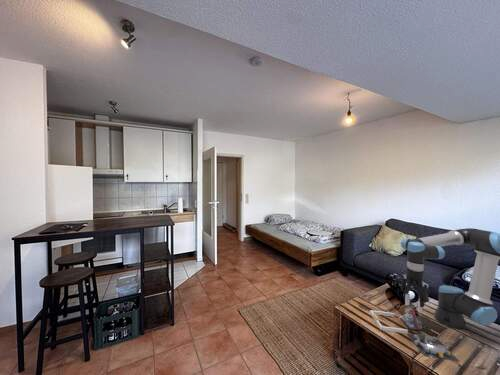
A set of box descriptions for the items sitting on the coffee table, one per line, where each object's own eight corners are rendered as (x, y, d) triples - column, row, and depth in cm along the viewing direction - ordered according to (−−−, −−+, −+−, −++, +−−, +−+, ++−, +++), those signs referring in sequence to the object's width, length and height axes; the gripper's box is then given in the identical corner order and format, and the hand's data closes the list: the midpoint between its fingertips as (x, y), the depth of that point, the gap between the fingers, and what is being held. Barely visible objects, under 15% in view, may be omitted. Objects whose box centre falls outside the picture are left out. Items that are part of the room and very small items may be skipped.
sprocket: (436, 338, 119) (437, 328, 119) (458, 360, 104) (458, 348, 104) (407, 334, 122) (408, 324, 122) (424, 355, 107) (425, 344, 107)
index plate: (437, 339, 119) (437, 337, 119) (459, 362, 104) (459, 361, 104) (406, 335, 122) (406, 333, 122) (424, 357, 106) (424, 355, 106)
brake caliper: (430, 331, 123) (417, 313, 124) (413, 339, 125) (400, 321, 126) (419, 318, 134) (407, 303, 135) (404, 326, 136) (392, 310, 137)
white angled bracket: (393, 316, 139) (393, 311, 139) (408, 334, 122) (408, 328, 122) (369, 313, 142) (369, 308, 142) (380, 330, 125) (380, 325, 125)
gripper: (394, 263, 125) (392, 300, 126) (430, 277, 107) (428, 320, 108) (402, 262, 128) (400, 298, 128) (438, 275, 110) (437, 317, 110)
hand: (413, 308), depth 118 cm, fingers open, 6 cm apart
